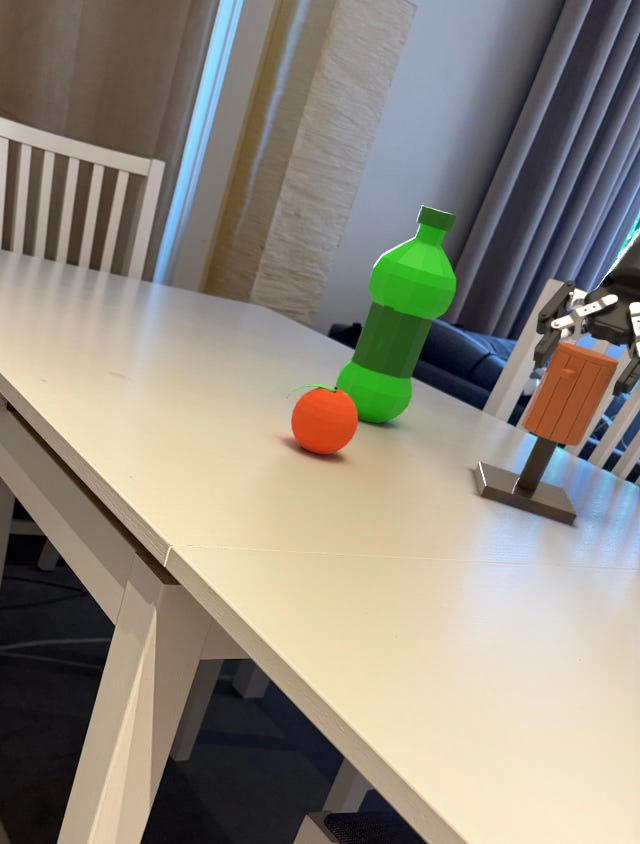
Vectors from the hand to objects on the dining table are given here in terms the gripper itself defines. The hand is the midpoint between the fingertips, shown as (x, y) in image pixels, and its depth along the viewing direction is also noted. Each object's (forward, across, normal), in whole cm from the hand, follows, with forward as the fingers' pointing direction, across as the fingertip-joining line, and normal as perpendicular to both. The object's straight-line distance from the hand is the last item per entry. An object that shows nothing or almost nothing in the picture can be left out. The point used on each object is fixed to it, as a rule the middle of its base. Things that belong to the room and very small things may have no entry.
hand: (576, 376), depth 96 cm
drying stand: (+9, 0, +10) cm, 14 cm away
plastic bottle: (+5, -24, +15) cm, 29 cm away
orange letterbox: (+5, 0, +4) cm, 6 cm away
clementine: (+22, -18, -2) cm, 29 cm away
